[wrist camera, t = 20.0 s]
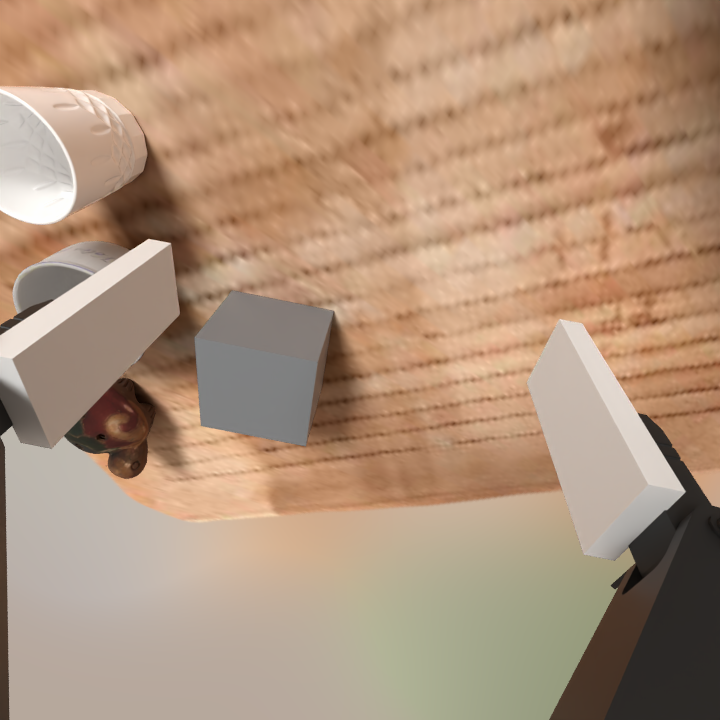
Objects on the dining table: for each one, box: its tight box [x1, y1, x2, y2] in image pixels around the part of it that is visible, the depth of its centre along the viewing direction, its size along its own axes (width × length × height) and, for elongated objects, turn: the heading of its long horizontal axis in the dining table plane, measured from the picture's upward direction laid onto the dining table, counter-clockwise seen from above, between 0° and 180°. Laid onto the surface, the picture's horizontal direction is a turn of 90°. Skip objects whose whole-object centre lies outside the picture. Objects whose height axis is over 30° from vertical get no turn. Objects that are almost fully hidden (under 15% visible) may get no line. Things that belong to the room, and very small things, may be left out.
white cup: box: [0, 86, 148, 225], centre depth 30 cm, size 8×8×10 cm
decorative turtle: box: [64, 378, 155, 479], centre depth 48 cm, size 10×15×8 cm, turn 31°
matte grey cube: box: [194, 290, 334, 446], centre depth 40 cm, size 10×10×9 cm
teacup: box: [13, 241, 144, 366], centre depth 39 cm, size 14×11×8 cm
